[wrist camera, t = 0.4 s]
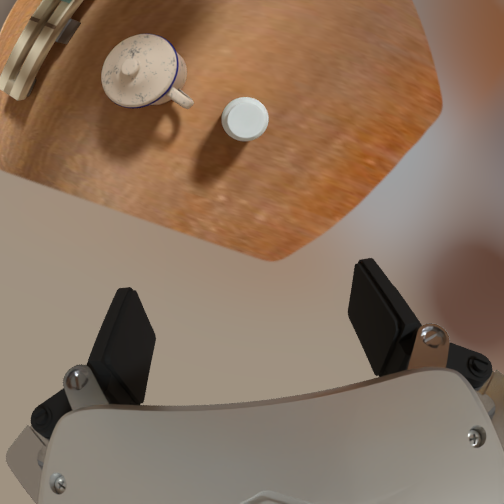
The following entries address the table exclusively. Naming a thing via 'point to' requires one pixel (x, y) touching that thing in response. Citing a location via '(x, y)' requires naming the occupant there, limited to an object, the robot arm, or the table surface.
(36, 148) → the table surface
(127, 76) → the teacup with lid
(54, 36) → the beam
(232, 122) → the supplement bottle
